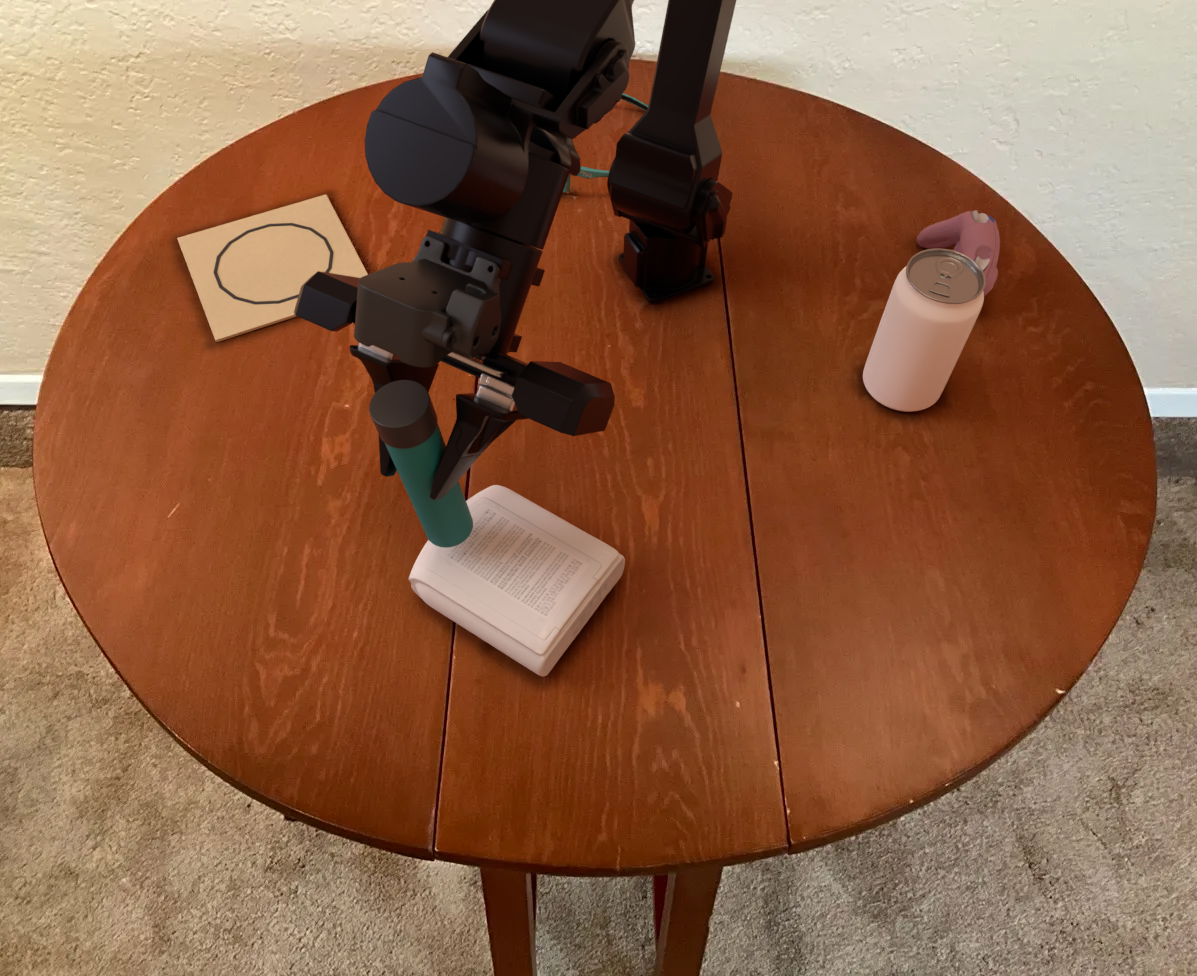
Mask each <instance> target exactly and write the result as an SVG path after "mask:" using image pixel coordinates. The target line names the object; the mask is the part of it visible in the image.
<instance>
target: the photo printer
mask: <svg viewBox="0 0 1197 976" xmlns="http://www.w3.org/2000/svg"><path fill="white" fill-rule="evenodd" d="M466 503H467V505H468V508H469V511H470V514H471V516H472V519H473V529H472V532H471V534H470V535H469V537H468V538H467V539H466V540H465V541H464V542H462V543H461V544H459V545H457V546H454V547H448V548H444V547H439V546H436V545H434V544H433V543H431V542H430V541H429V540H428V539H427V541H426V542H425V544H424V545H423V546H422V549H421V551H420V552H419V554H418V556H417V557H416V560H415V562H414V563H413V566H412V568H411V571H410V574H409V575H408V581H409V582H410V584H411V586H410V588H411V589H412V590H413V592H414V593H415V594H416V596H418V597H419V599H421V600H422V601H423V602H424V603H425V604H426V605H427V606H429V607H430V608H432V609H433V610H435V611H436V612H438V613H440V614H441V615H443V616H444V617H446V618H447V619H449V620H451V621H452V622H454V623H456V625H458V626H460V627H461V628H463V629H465V630H466V631H468V632H469V633H471V634H473V635H474V636H476V637H477V638H479V639H480V640H482V641H484V642H485V643H487V644H489V645H490V646H492V647H493V648H495V649H496V650H498V651H499V652H501V653H502V654H504V655H506V656H507V657H509V658H511V659H512V660H514V661H515V662H516V663H518V664H520V665H522V666H523V667H524V668H525V669H528V670H529V671H531V672H533V673H534V674H536V675H538V676H539V677H546V676H548V675H549V674H550V672H551V671H552V670H553V668H554V667H555V666H556V664H557V663H558V662H559V660H560V659H561V657H562V656H563V655H564V653H565V652H566V651H567V650H568V648H569V646H570V645H572V643H573V641H574V640H575V639H576V637H577V636H578V635H579V634H580V632H581V630H582V629H583V628H584V627H585V625H586V624H587V623H588V621H589V620H590V618H591V617H592V616H593V615H594V613H595V612H596V610H597V609H598V608H599V606H600V605H601V604H602V603H603V601H604V600H605V598H606V597H607V595H609V593H610V592H611V591H612V589H613V588H614V587H615V585H616V584H617V583H618V582H619V580H620V579H621V578H622V576H623V573H624V570H625V565H626V559H625V557H624V555H623V554H621V553H619V551H618V550H617V549H615V548H614V547H613V546H611V545H609V544H607V543H606V542H604V541H602V540H600V539H598V538H597V537H595V536H593V535H591V534H590V533H588V532H586V531H584V530H582V529H580V528H579V527H578V526H576V525H574V524H572V523H570V522H569V521H566V520H565V519H563V518H562V517H559V516H558V515H556V514H554V513H552V512H551V511H549V510H548V509H545V508H543V507H542V506H540V505H538V503H537V504H536V503H535V502H533V501H531V500H530V499H527V498H526V497H524V496H522V494H519V493H517V492H515V491H514V490H512V489H510V488H508V487H506V486H503V485H499V484H493V485H490V486H487V487H486V488H484V489H482V490H480V491H479V492H477V493H475V494H474V495H472V496H471V497H469V498H467V500H466Z"/></svg>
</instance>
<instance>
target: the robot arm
mask: <svg viewBox="0 0 1197 976" xmlns="http://www.w3.org/2000/svg"><path fill="white" fill-rule="evenodd" d="M634 3H635V0H493V1H492V3H491V4H490V6H489V8H488V9H487V10H486V11H485V12H484V13H483V14H482V15H481V17H480V18H479V20H477V22H476V23H475V24H474V25H473V26H472V27H471V28H470V30H469V31H468V32H467V34H465V36H464V37H463V38H462V39H461V40H460V41H459V43H458V44H457V45H456V47H455V48H454V49H453V50H452V51H451V52H450V53H449V54H448V56H445V55H442V54H439V53H436V52H430V53H429V55H428V56H427V59H426V63H425V65H424V69H423V73H422V76H421V77H415V78H413V79H409V80H406V81H403V82H402V83H400V84H399V85H397V86H395V87H393V88H392V89H391V90H390V91H389V92H388V93H387V94H386V95H385V96H384V97H383V98H382V99H381V100H380V102H379V104H378V105H377V107H376V109H373V110H372V111H371V113H370V115H369V118H368V121H367V124H366V128H365V135H364V156H365V159H366V164H367V167H368V171H369V173H370V175H371V177H372V179H373V180H374V183H375V184H376V185H377V187H378V188H379V189H380V190H381V191H382V193H383V194H384V195H386V196H387V197H389V198H391V199H392V200H393V201H394V202H396V203H399V204H401V205H405V206H407V207H411V208H415V209H417V210H421V211H424V212H427V213H430V214H433V215H436V216H440V217H443V218H444V219H443V221H442V225H441V228H440V230H439V232H438V231H435V230H431V229H427V232H426V235H425V236H424V237H423V238H422V240H421V242H420V246H419V248H418V252H417V254H416V255H415V256H414V258H413V259H412V261H408V262H407V261H403V262H397V263H394V264H392V265H389V266H386V267H384V268H382V269H378V270H376V271H373V272H370V273H367V274H368V275H366V276H363V277H361V278H357V277H351V276H345V275H339V274H333V273H326V272H320V271H318V272H316V273H315V274H314V275H313V276H311V277H310V278H309V279H308V280H307V281H306V282H305V283H304V284H303V285H302V286H301V289H300V292H299V296H298V299H297V303H296V306H295V310H294V314H295V315H296V317H297V318H300V319H303V320H305V321H307V322H309V323H312V324H314V325H316V326H318V327H320V328H323V329H325V330H328V331H329V332H339V331H341V330H343V329H345V328H346V327H348V326H350V325H353V324H354V330H353V338H354V339H355V341H356V342H358V343H357V344H350V345H349V353H350V355H351V356H352V357H354V358H356V359H358V360H359V361H360V362H361V363H362V365H363V366H364V369H365V370H366V372H367V373H368V375H369V377H370V378H371V381H372V385H373V390H374V394H375V393H376V392H377V391H378V390H379V389H380V388H381V387H383V386H384V385H386V384H388V383H391V382H394V381H398V380H411V381H415V382H418V383H420V384H421V385H423V386H424V387H425V388H426V389H427V391H428V393H429V394H430V390H431V387H432V384H433V382H434V379H435V376H436V374H437V371H438V369H439V365H440V364H439V363H440V362H442V363H444V364H446V365H448V366H451V367H453V368H456V369H457V370H460V371H462V372H464V373H467V374H469V375H472V376H474V377H476V378H478V379H479V380H478V383H477V389H476V392H474V393H473V392H470V393H456V394H455V410H456V417H455V418H456V419H455V422H454V425H453V428H452V430H451V432H450V434H449V437H448V440H447V443H446V444H445V445H446V448H445V450H444V453H443V455H442V458H441V460H440V463H439V466H438V468H437V471H436V473H435V476H434V480H433V484H432V488H431V492H430V498H431V499H433V500H439V499H442V498H443V497H444V496H445V495H446V494H447V493H448V492H449V491H450V489H451V488H452V487H453V486H454V485H455V484H456V483H457V481H459V480H460V479H461V478H462V477H463V476H464V475H465V473H466V472H468V470H469V469H470V468H471V467H472V466H473V465H474V463H475V462H476V461H477V460H478V459H479V458H480V457H481V455H482V454H483V453H484V452H485V451H486V450H487V449H488V447H490V446H491V444H492V443H494V442H495V441H496V440H497V439H498V438H499V437H500V436H501V435H502V434H503V433H504V432H506V431H507V430H508V429H509V428H510V427H511V426H512V425H513V424H514V423H516V422H517V421H521V420H531V421H532V422H535V423H538V424H540V425H543V426H545V427H546V428H549V429H551V430H554V431H556V432H558V433H560V434H563V435H567V436H572V437H578V436H584V435H588V434H595V433H600V432H605V431H606V428H607V427H608V425H609V424H608V423H609V421H610V418H611V415H612V413H613V410H614V408H615V402H616V397H615V393H614V389H613V386H612V382H609V381H606V380H604V379H602V378H600V377H597V376H595V375H593V374H589V373H587V372H585V371H583V370H580V369H578V368H576V367H573V366H571V365H570V364H569V365H568V364H566V363H564V362H562V361H541V360H538V361H537V360H536V361H535V360H530V361H529V362H528V363H527V362H525V361H523V360H520V359H518V358H516V357H513V356H511V355H509V353H518V350H519V347H520V344H521V342H522V338H523V336H522V335H519V334H517V333H516V330H517V327H518V325H519V322H520V319H521V316H522V313H523V310H524V308H525V304H526V301H527V299H528V296H529V292H530V289H531V286H535V287H540V286H541V283H542V280H543V278H544V274H545V271H546V269H543V268H541V267H538V266H539V263H540V261H541V258H542V254H543V252H544V251H543V250H544V248H545V246H546V242H547V240H548V237H549V235H550V232H551V228H552V225H553V222H554V219H555V216H556V214H557V210H558V207H559V205H560V202H561V199H562V196H563V193H564V192H563V190H564V187H565V184H566V182H567V179H568V176H569V174H570V176H573V177H578V176H577V175H578V174H579V172H580V169H581V166H582V165H581V157H580V154H579V152H578V151H577V149H576V146H575V145H574V140H573V139H576V138H577V137H578V136H580V135H581V134H582V133H583V132H585V131H586V130H590V128H591V127H592V126H593V125H594V124H597V123H599V122H601V120H602V119H603V118H604V117H605V116H606V115H607V114H609V113H610V112H611V111H612V110H613V109H614V108H615V107H616V105H617V104H618V103H620V101H621V100H622V99H621V97H622V94H623V93H624V94H625V91H626V90H627V88H628V85H629V81H630V72H629V69H630V67H629V66H630V61H631V59H632V56H633V54H634V51H635V47H636V38H635V28H634V17H633V16H634V15H633V4H634ZM736 3H737V0H668V2H667V5H666V10H665V11H666V12H665V17H664V21H663V27H662V32H661V38H660V43H659V48H658V54H657V60H656V65H655V71H654V74H653V81H652V87H651V91H650V96H649V100H648V110H647V111H645V112H644V113H643V114H642V115H641V116H640V117H639V119H638V120H637V121H636V122H635V123H634V125H633V126H632V127H631V128H630V129H629V130H628V131H627V132H626V133H625V132H624V133H623V134H622V135H621V137H620V138H619V139H618V140H617V142H616V147H615V157H614V158H613V161H612V163H611V165H610V168H609V170H608V171H609V175H608V177H607V181H606V183H607V185H606V186H607V191H608V195H609V199H610V203H611V207H612V210H613V211H612V212H613V215H614V216H615V217H618V218H623V219H627V220H629V222H628V223H629V224H628V232H626V233H625V234H624V236H623V252H622V253H620V254H619V255H618V262H619V264H620V265H621V267H622V271H623V272H624V273H625V275H626V276H627V277H628V279H629V280H630V282H631V283H632V284H633V286H634V287H635V288H638V290H639V291H640V292H641V294H642V295H643V297H645V299H646V300H647V302H648V303H649V304H651V305H652V304H653V305H655V304H658V303H661V302H665V301H667V300H669V299H672V298H676V297H678V296H681V295H683V294H684V295H685V294H687V293H689V292H692V291H695V290H698V289H701V288H703V287H706V286H710V285H712V284H713V283H714V280H715V275H714V274H713V273H712V271H711V270H710V268H708V266H707V265H706V262H707V256H708V255H707V254H708V247H709V243H710V241H711V240H712V241H714V240H716V239H722V238H723V237H724V235H725V234H726V228H727V222H728V221H727V220H728V215H729V213H730V211H731V207H732V206H731V203H732V198H733V192H732V191H731V190H730V189H729V188H728V187H726V186H725V185H724V184H722V183H721V182H719V181H718V180H719V175H720V169H721V164H722V160H723V159H722V158H723V150H722V145H721V144H720V140H719V137H718V133H717V131H716V127H715V125H714V121H713V118H712V109H713V105H714V100H715V95H716V91H717V87H718V83H719V80H720V79H719V78H720V74H721V70H722V65H723V61H724V58H725V57H724V56H725V53H726V47H727V44H728V38H729V35H730V30H731V25H732V21H733V17H734V14H735V8H736ZM378 449H379V469H380V471H379V472H380V474H381V476H383V477H384V478H388V477H394V476H395V475H396V473H397V472H398V471H397V469H396V467H395V465H394V463H393V460H392V458H391V456H390V454H389V451H388V449H387V447H386V445H385V443H384V442H383V441H382V439H381V438H380V436H379V435H378Z"/></svg>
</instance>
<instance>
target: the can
mask: <svg viewBox="0 0 1197 976" xmlns="http://www.w3.org/2000/svg"><path fill="white" fill-rule="evenodd" d="M895 278H896V279H894V283H893V285H892V288H891V290H890V293H889V296H888V299H887V302H886V304H885V307H884V310H883V313H882V315H881V318H880V321H879V324H878V326H877V329H876V333H875V336H874V338H873V341H872V344H871V347H870V349H869V353H868V355H867V358H866V361H865V364H864V367H863V371H862V383H863V385H864V387H865V389H866V391H867V392H868V393H869V395H870V396H871V397H872V398H873V399H874V400H875V401H876V402H877V403H879V404H880V405H882V406H884V407H886V408H888V409H891V410H893V411H897V412H903V413H904V412H905V413H910V412H911V413H912V412H913V413H914V412H918V411H923V410H926V409H928V408H930V407H931V406H933V405H935V404H936V403H937V402H938V401H939V399H940V397H941V395H942V394H943V392H944V389H945V388H946V386H947V383H948V382H949V379H950V377H951V375H952V373H953V370H954V369H955V366H956V364H957V362H958V360H959V358H960V356H961V354H962V352H963V350H964V347H965V345H966V343H967V341H968V339H969V337H970V334H971V332H972V330H973V329H974V326H975V324H976V323H977V319H978V318H979V316H980V313H981V311H982V308H983V305H984V301H985V296H984V292H983V290H984V288H985V283H986V280H985V275H984V273H983V271H982V269H981V268H980V266H979V265H978V264H977V263H976V262H975V261H973V260H972V259H971V258H969V257H968V256H966V255H964V254H962V253H959V252H957V251H953V249H948V248H935V249H927V248H926V249H923V250H920V251H919V252H916V253H915V254H913V256H911V257H910V258H909V260H908V261H907V263H906V265H905V266H904V268H902V269H901V270H900V271H899V273H898V274H897V276H896V277H895Z"/></svg>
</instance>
